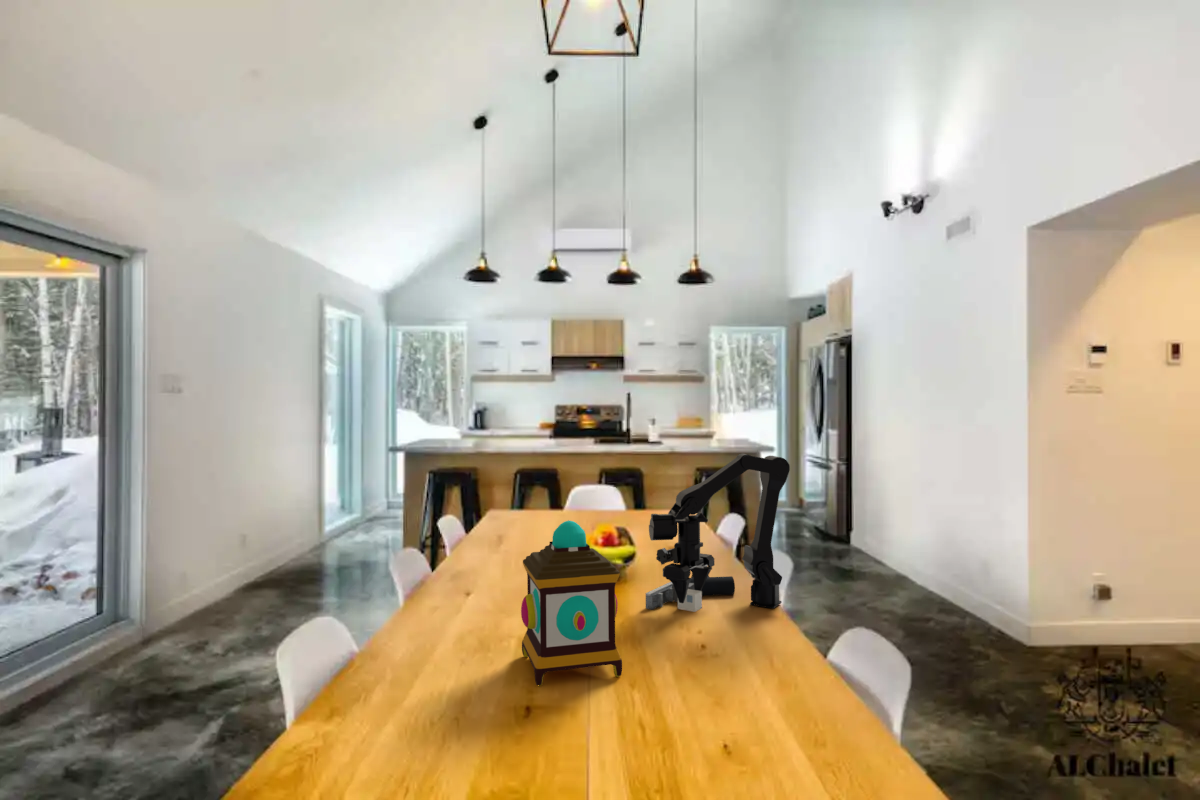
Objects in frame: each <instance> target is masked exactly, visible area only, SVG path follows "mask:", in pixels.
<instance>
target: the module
mask: <svg viewBox="0 0 1200 800" xmlns="http://www.w3.org/2000/svg"><path fill="white" fill-rule="evenodd" d="M702 600H703V596H702V591H698V590H692V589H688V590H687V594H686V597H685V600H684V603H680V602H679V600H678V602H677V609H678V610H683V611H688V612H694V613H695V612H696V613H697V611H699V610H700V609H703V601H702Z"/></svg>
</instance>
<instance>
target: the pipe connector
mask: <svg viewBox="0 0 1200 800" xmlns="http://www.w3.org/2000/svg"><path fill="white" fill-rule="evenodd" d="M690 578H691V579H690V583H694V579H693V573H692V572H691V577H690ZM701 591H702V597H703V596H704V597H705V596H728V595H729V596H730V595H732V596H733V595H735V591H736V584H735V579H734V577H733V576H732V575H731V576H710V575H708V577H707V579H706V581H705V583H704V586H703V588H702V590H701Z"/></svg>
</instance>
